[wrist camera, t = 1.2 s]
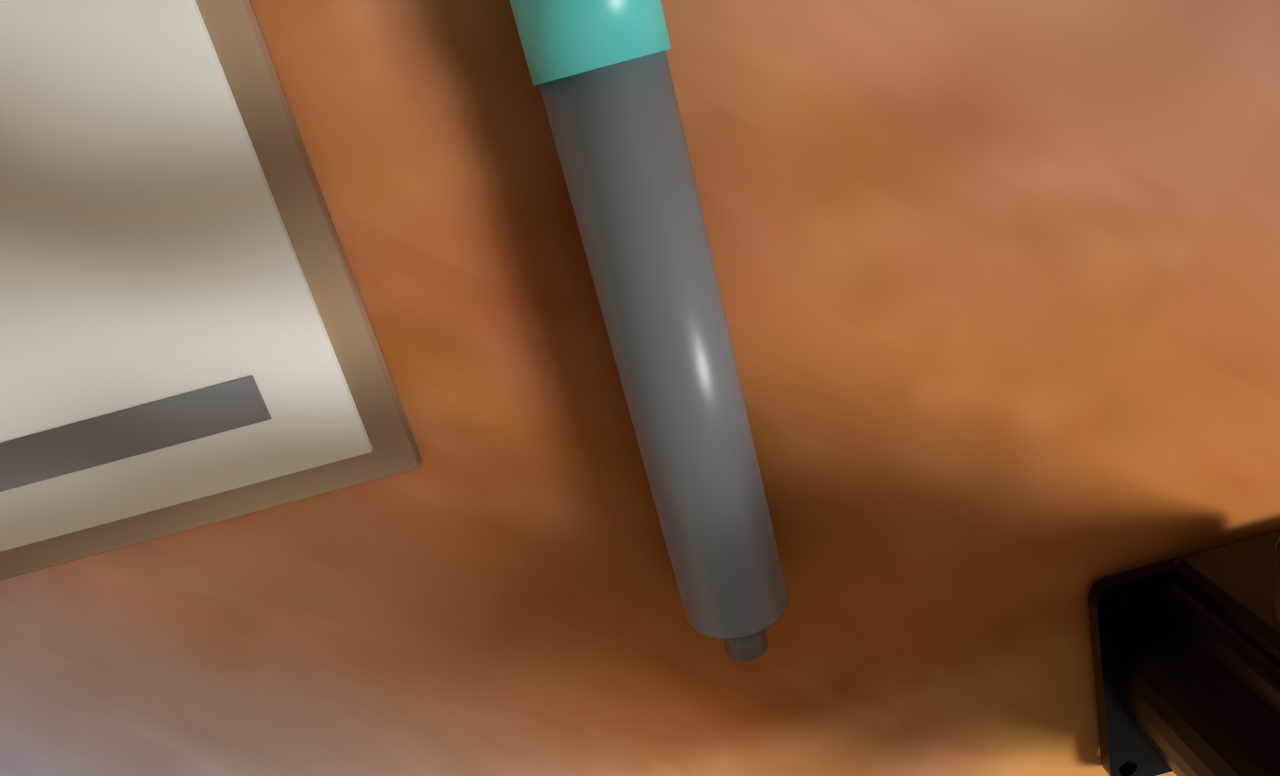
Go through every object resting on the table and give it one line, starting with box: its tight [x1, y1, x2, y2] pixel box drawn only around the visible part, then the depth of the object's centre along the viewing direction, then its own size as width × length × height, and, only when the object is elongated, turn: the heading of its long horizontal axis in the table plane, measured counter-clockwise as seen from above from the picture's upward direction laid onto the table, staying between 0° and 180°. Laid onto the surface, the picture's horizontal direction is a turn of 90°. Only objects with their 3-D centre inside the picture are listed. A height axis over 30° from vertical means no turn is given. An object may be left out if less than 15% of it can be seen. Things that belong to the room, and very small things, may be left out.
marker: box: [509, 0, 788, 661], centre depth 18 cm, size 16×3×3 cm, turn 14°
